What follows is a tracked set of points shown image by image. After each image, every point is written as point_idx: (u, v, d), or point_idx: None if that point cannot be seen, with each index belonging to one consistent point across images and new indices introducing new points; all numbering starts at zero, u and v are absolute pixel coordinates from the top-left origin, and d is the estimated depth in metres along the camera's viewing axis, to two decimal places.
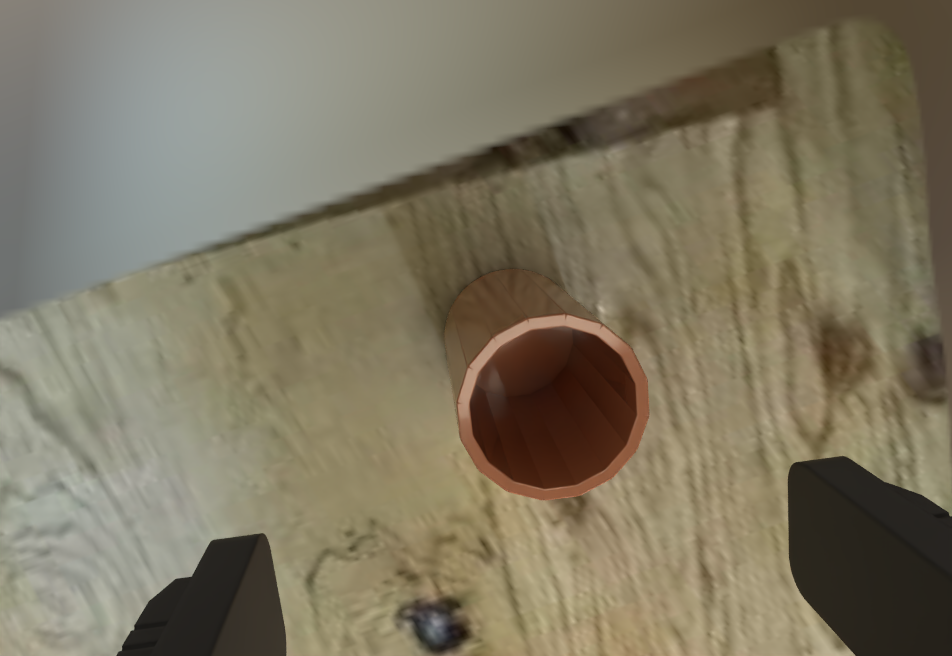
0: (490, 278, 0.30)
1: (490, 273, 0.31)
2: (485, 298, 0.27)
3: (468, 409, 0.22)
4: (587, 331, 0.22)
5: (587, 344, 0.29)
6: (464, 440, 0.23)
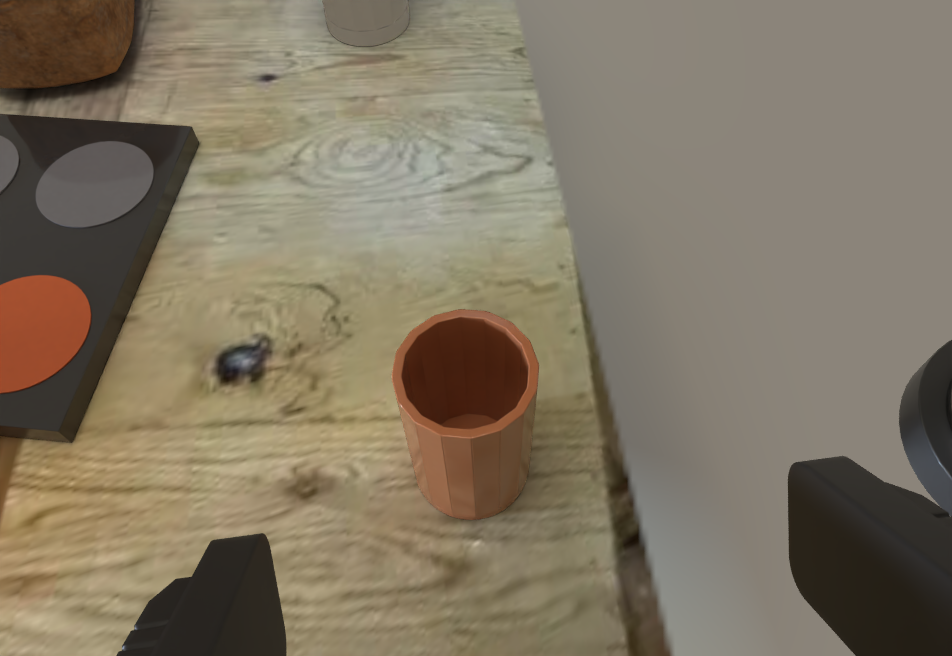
0: None
1: None
2: None
3: (480, 317, 0.31)
4: (519, 402, 0.29)
5: None
6: (458, 311, 0.31)
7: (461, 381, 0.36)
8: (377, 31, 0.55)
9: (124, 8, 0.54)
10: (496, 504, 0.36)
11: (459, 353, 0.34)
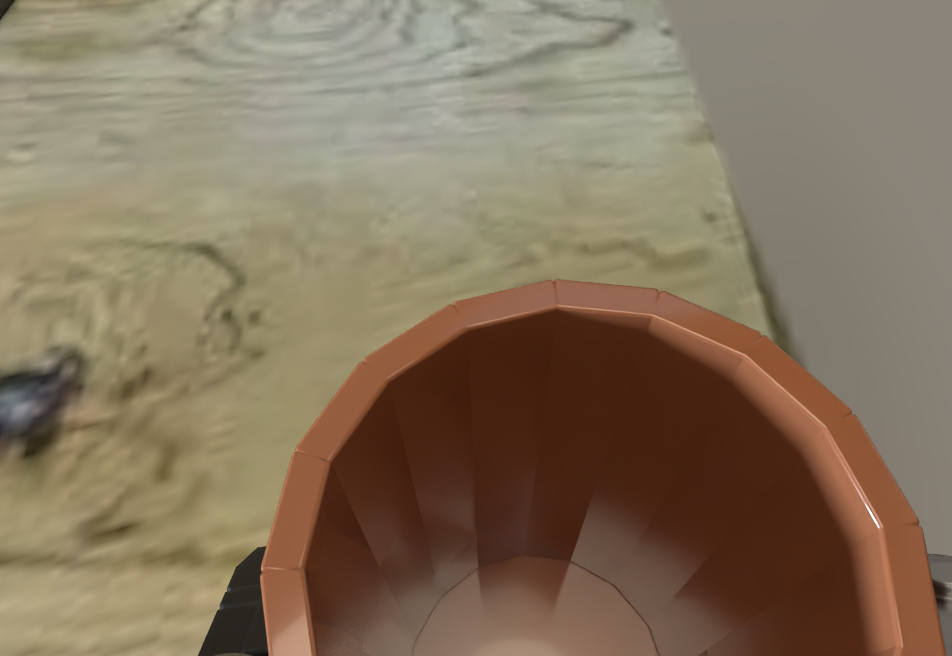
0: None
1: None
2: None
3: (636, 311, 0.08)
4: None
5: None
6: (548, 286, 0.08)
7: (522, 496, 0.13)
8: None
9: None
10: None
11: (531, 430, 0.11)
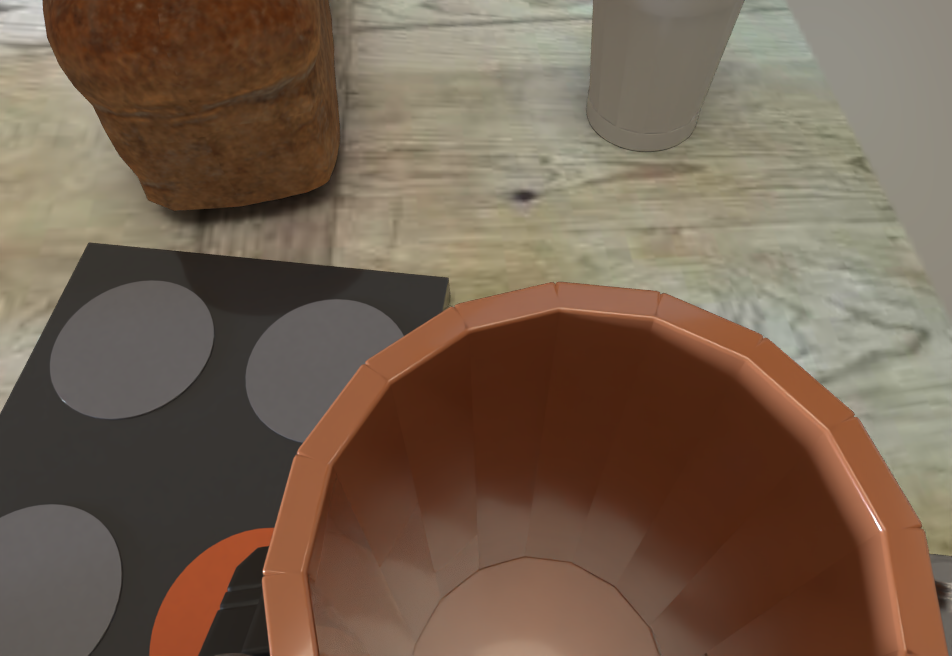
0: None
1: None
2: None
3: (638, 313, 0.08)
4: None
5: None
6: (550, 288, 0.08)
7: (523, 498, 0.13)
8: (670, 133, 0.41)
9: (334, 99, 0.40)
10: None
11: (531, 432, 0.10)
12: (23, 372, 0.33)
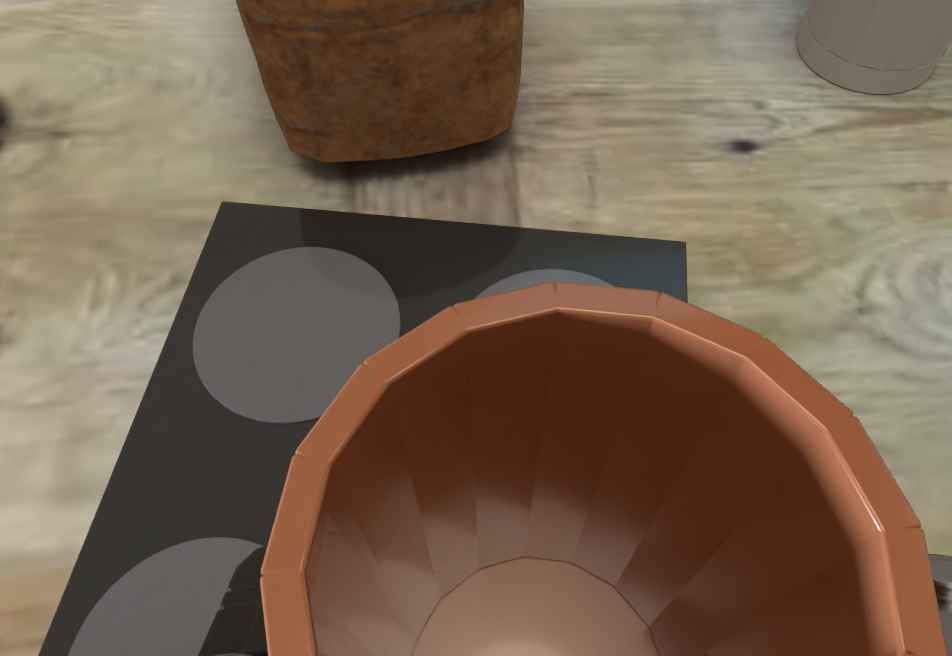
0: None
1: None
2: None
3: (637, 313, 0.08)
4: None
5: None
6: (548, 288, 0.08)
7: (522, 498, 0.13)
8: (917, 70, 0.33)
9: None
10: None
11: (531, 431, 0.10)
12: (159, 363, 0.26)
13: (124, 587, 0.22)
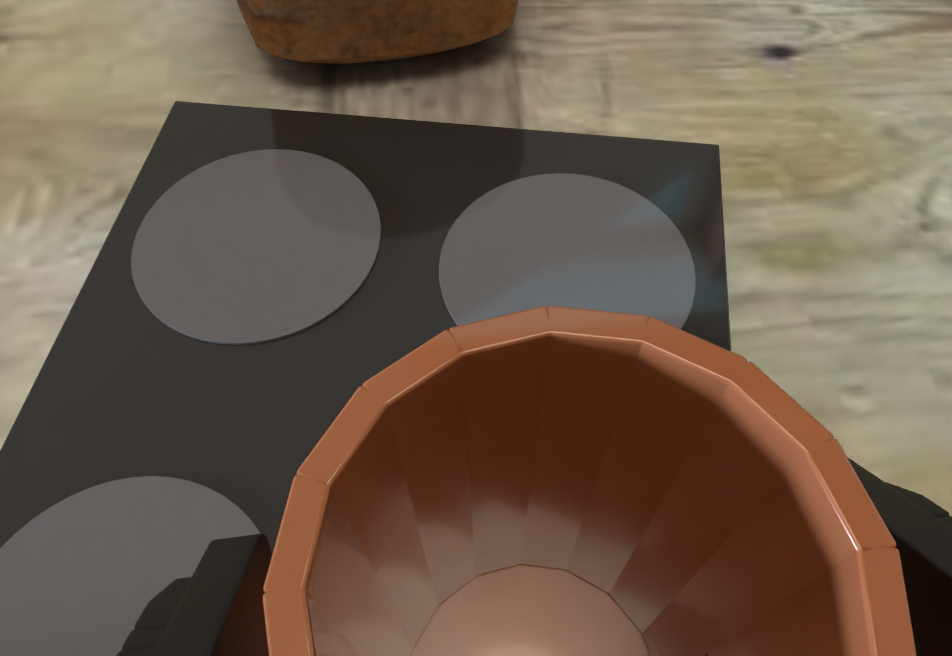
0: None
1: None
2: None
3: (626, 337, 0.08)
4: None
5: None
6: (541, 312, 0.08)
7: (518, 509, 0.13)
8: None
9: None
10: None
11: (526, 447, 0.11)
12: (90, 276, 0.21)
13: (31, 536, 0.17)
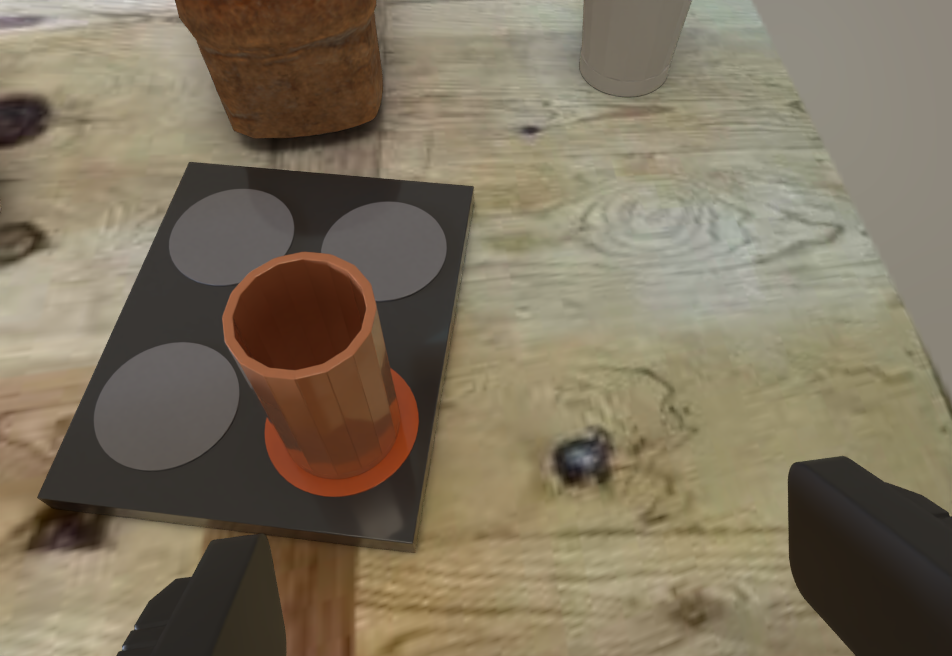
0: None
1: None
2: None
3: (323, 259, 0.30)
4: (351, 343, 0.28)
5: None
6: (301, 253, 0.30)
7: (324, 334, 0.35)
8: (646, 81, 0.51)
9: None
10: (356, 462, 0.34)
11: (313, 302, 0.33)
12: (149, 254, 0.43)
13: (128, 366, 0.39)
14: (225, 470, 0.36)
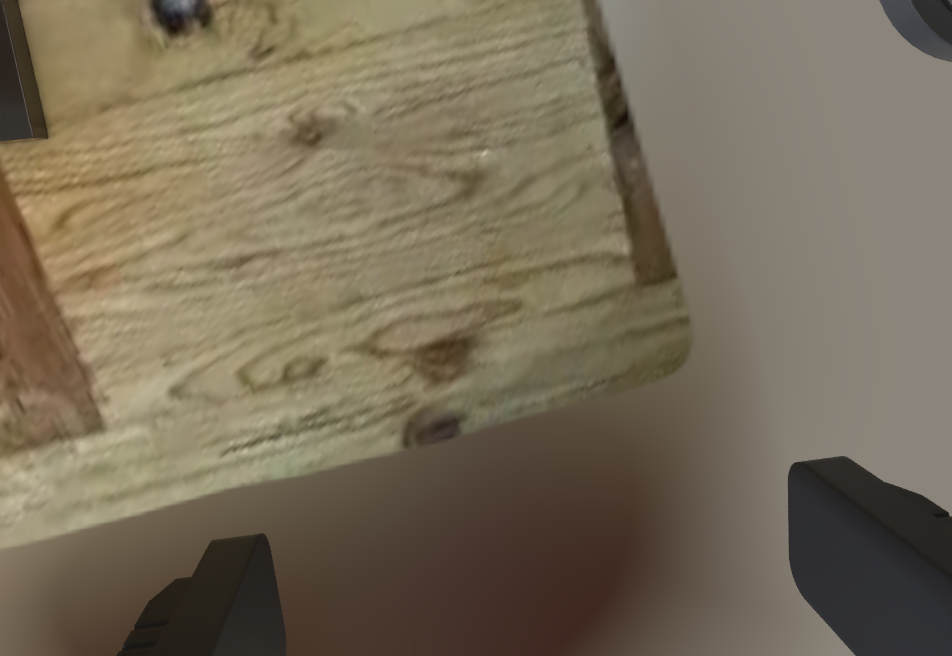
0: None
1: None
2: None
3: None
4: None
5: None
6: None
7: None
8: None
9: None
10: None
11: None
12: None
13: None
14: None
